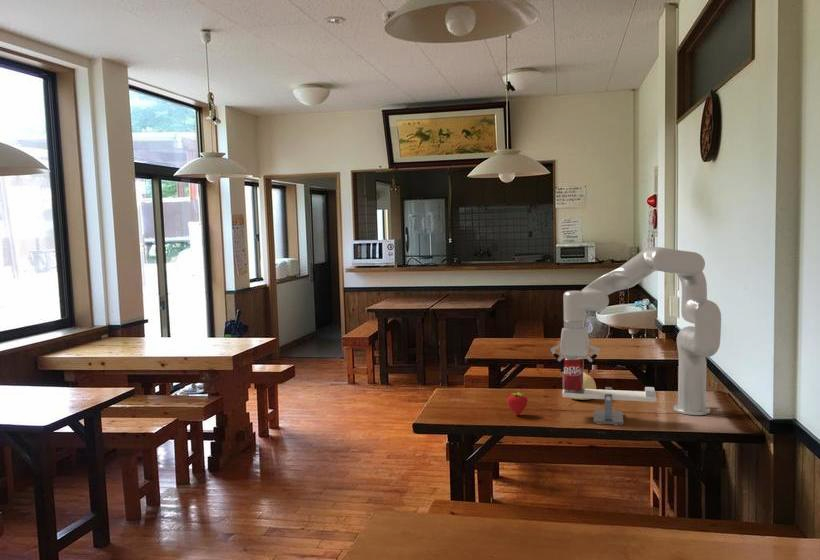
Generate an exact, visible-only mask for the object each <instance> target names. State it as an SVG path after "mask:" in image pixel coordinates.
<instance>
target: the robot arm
mask: <svg viewBox="0 0 820 560" xmlns="http://www.w3.org/2000/svg"><path fill="white" fill-rule="evenodd" d="M705 266H706V262H705V258H704V256H702V254H700V253H698V252H694V251H687V250H680V249H674V248H668V247H663V246H662V247H660V246H649V247H647V248H645V249H643V250H641V251H640V252H639V253H637V254H636V255H635V256H633V257H632V258H630V259H629V260H628V261H626V262H624V263H623V264H622V265H621V266H618V268H615V269H613V270H612V271H610V272H607V273H605V274H603V275H602V276H600V277H597V278H596V279H594V280H593V281H592V282H590V283H589V284H588V285H586V286H585V287H584V288H582V289H581V290H566V291H565V292H564V293H563V297H562V299H563V327H562V328H561V333H560V343H559V344H557V345H555V346H553V347H551V348H550V351H551V353H552V355H553V357H554V358H555V360H557V362H558V370H560V373H563V358H564V357H566V356H573V357H582V358H583V357H585V358H586V359H587V360H588V361H587V373H589V374H590V373H591V371H593V361H594V360H595V359H596V358H597V356H598V355H599V354H600V351H601V350H600V348H599V347H597V346H595V345H592V344H590V335H589V330H588V328H587V327H589V326H590V321H587V320H586V311H590V312H591V311H592V312H599V311H600V312H601V311H603V310H605V309H606V308H607V307H608V306H609V303H610V300H609V296H610V294H613V293H615V292H619V291H621V290H628V289H630V288H633V287H635V286H636V285H637V284H639V283H641V282H642V281H643V280H644V279H645V278H647V277H649V276H650V275H651V274H653V273H654V272H663V273H669V274H674V275H676V276H677V277H678V278H679V281H680V284H681V285H680V286H681V304H680V305H681V306H680V307H681V308H680V311H681V313H680V314H681V317H682V318H683V320H684V321H686V322H688V323H691V324H694V326H693V325H690V326H685V327H683V328H681V329H680V330H679V331H678V333H677V336H676V348H677V355H678V374H677V375H678V376H677V377H678V382H677V383H678V385H677V387H678V388H677V392H678V394H677V399H678V400H677V404H675V405H673V410H674V412H677V413H679V414H683V415H689V416H705V415H709V414H710V413H711V409H710V408H709V406H706V405H707V402H708V401H709V397H707V365H708V364H707V358H709V357H712V356H714V355H715V354H717V353H718V351H719V349H720V345H721V336H722V335H721V333H722V314H721V309H720V307H719V306H718V304H717V303H715V301H713V300H709V299H708V288H707V287H708V286H707V279H706V278H707V277H706V276H705V273H704V272H703V271H704V270H705V268H706V267H705ZM559 349H560V355H559V354H558V353H557V350H559ZM590 350H592V351H594V352H593V354H592V355H590Z"/></svg>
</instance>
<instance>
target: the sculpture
mask: <svg viewBox="0 0 820 560" xmlns="http://www.w3.org/2000/svg"><path fill="white" fill-rule="evenodd" d="M583 388H585V389H597V385H596V382H595V380H594V378H593V377H591V376H590V375H589V374H587V373H586V371H583ZM569 398H570V399H573V400H582V401H585V400H587V401H588V400H591V399H590V398H571V397H569Z"/></svg>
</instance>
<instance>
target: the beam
mask: <svg viewBox="0 0 820 560" xmlns="http://www.w3.org/2000/svg"><path fill="white" fill-rule="evenodd" d="M605 394H612V401H614V400H615V401H628V402H629V401H631V402H632V401H633V402H646V403H649V402H650V403H657V402H658V401H657V400H658V399H657V394H656V390H655V387H654V386H645V387H644V391H640V390H639V391H638V390H621V389H619V390H618V389H616V390H615V389H612V390H605V389H600V388H599V389H597V388H596V389H585V388H583V390H582V391H581V392H567V391H565V390H564V389H563V388H562V393H561V397H562V398H570V397H571V398H570V399H572V398H590V399H589V400H592V399H593V400H605Z"/></svg>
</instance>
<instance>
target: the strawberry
mask: <svg viewBox="0 0 820 560" xmlns="http://www.w3.org/2000/svg"><path fill="white" fill-rule="evenodd" d="M517 390H518V392H514V393H513V392H512V393H510V395H509V396H508V397H507V400H506V402H507V405H508V407H509V408H510V410H511V411H512V412H513V413H514V414H515V415H516V416H520V415H521V413H523V411H525V409H526V407H527V405H528V398H527V397H526V396H525V395H526V394H524V393H522V392H520V391H519V388H517Z"/></svg>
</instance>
